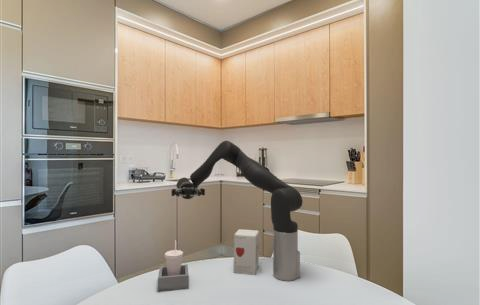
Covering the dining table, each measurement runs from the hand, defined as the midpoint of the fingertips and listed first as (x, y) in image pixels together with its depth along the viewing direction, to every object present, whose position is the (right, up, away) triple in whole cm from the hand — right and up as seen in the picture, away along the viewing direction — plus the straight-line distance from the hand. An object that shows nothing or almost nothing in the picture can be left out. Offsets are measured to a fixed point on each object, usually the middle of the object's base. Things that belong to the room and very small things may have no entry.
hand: (189, 193), depth 108 cm
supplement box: (+24, -30, -3) cm, 39 cm away
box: (-2, -29, -16) cm, 33 cm away
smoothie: (-2, -28, -16) cm, 33 cm away
